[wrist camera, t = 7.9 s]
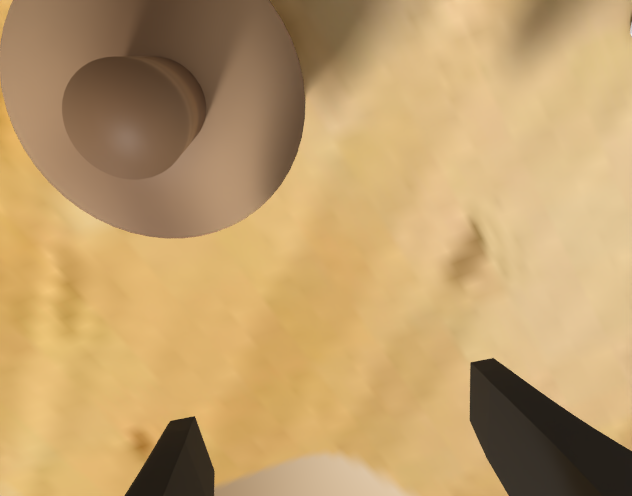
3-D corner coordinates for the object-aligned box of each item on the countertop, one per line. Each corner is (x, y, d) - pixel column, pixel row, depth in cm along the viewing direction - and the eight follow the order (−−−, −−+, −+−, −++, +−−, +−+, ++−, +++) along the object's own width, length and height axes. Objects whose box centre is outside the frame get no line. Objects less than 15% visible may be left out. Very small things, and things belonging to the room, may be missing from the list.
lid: (296, -63, 12) (313, -124, 8) (306, 219, 16) (322, 277, 11) (-25, -62, 11) (-189, -128, 7) (62, 235, 15) (-14, 303, 11)
